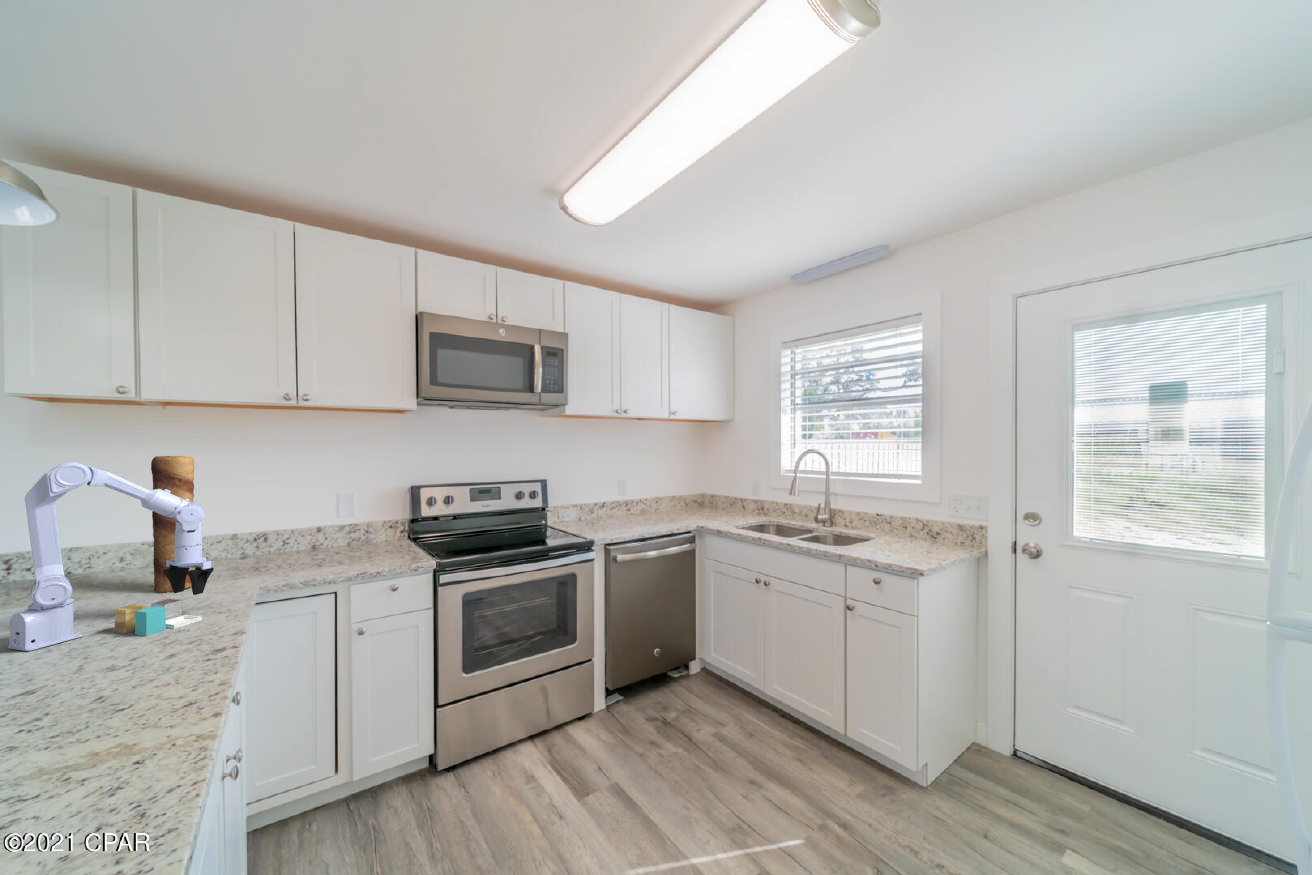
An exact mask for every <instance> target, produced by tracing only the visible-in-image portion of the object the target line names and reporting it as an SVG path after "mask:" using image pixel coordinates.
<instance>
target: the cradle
mask: <svg viewBox="0 0 1312 875" xmlns="http://www.w3.org/2000/svg"><path fill="white" fill-rule="evenodd" d="M200 621H203V616H198V615H191V614H190V615H189V614H182V616H179V617H176V618H172V619H169V620H166V629H173V630H175V629H177V628H181V627H184V626H187V625H191V624H195V623H198V622H200Z"/></svg>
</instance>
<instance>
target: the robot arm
mask: <svg viewBox="0 0 1312 875" xmlns="http://www.w3.org/2000/svg"><path fill="white" fill-rule="evenodd" d="M84 485H86V486H89V487H105V488H108V489H111V490H113V491H116V492H119V493H121V494H123V495H127V496H129V497H132V498H134V499H137V500H140V503H141V506H142V508H144V509H147V510H149V511H154V512H156V513H159V514H161V515H164V516H166V517H173V518H174V519H175V520H176V521H179V522H176V530H175V559H171V560H166V567H170V568H169V569H165V570H163V573H164V574H165V575H166V576H167V578H168V579H169V581H170V584H171V587H172V590H173V592H172V593H173V594H177V593H178V594H179V593H183V592H184V591H185V590H186V589H185V581H186V576H187V574H188V576H189V578H190V580H191V585H192V587H191V593H192V594H193V596H197V595H200V594H203V593H204V591H205V588H206V585H207V583H208V580H209V577H210V576H211V574H212V573H213V572H214V569H215V568H214V567H212V561H211V560H207V557H203V527H202V526H203V520H204V518H205V517H206V512H205V511H204V509H203V507H202V506H200V505H198V504H196V503H194V502H193V503H191V502H189V499H186V498H185V499H182V498H180V497H177V496H175V495H173V494H170V492H171V491H169V490H167V489H164V491H163V490H161V489H155V490H153V489H150V490H149V489H147V488H145V487H143V486H140V485H138V484H136V483H134V482H132V481H129V480H127V479H125V478H123V477H120V476H118V475H116V474H114V473H112V472H109V471H106V470H103V469H98V468H96V467H91V466H86V465H84V464H83V463H80V462H75V461H74V462H73V461H66V462H63V463H59V464H57V465H55V466H54V467H52V468H50V469H49V470H47V471H45V473H44V474H42V475H41V477H40V478H39V479H38V480H37V481H36V483H35V484H33V486H32V487H31V488H30V489H29V491H28V492H27V493H26V494H25V497H24V502H25V509H26V517H27V518H26V519H27V524H28V525H27V526H28V531H29V532H28V534H29V541H30V547H31V554H32V563H33V570H34V571H33V572H34V577H35V579H34V582H33V584H32V585H31V587H30V594H31V595H30V598H31V599H30V600H31V601H32V602H31V603H30V604H28V605H27V609H24V610H23V611H20V612H16V613H14V614H13V615H12V616H11V617H10V620H9V645H8V646H7V647H6V648H7V649H9V650H18V651H24V652H32V651H35V650H38V649H42V648H46V647H50V646H53V645H57V644H60V643H64V642H68V641H71V640H75V639H79V638H82V637H84V634H83V633H82V634H81V633H75V632H74V631H75V630H74V629H75V628H74V625H75V624H74V622H75V621H74V620H75V619H74V618H75V615H74V614H75V611H74V610H75V599H74V598H71V596H72V594H73V587H72V585H71V582H70V579H68V578H67V577H66V576H65V572H64V566H63V565H64V564H63V557H62V549H61V542H60V535H59V527H58V518H57V511H56V501H58V500H59V499H61V497H64V496H65V495H66V494H67V493H68V492H70V491H72V490H75V489H78V488H80V487H82V486H84ZM189 568H193V570H190V571H188V570H189Z"/></svg>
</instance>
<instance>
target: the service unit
mask: <svg viewBox="0 0 1312 875" xmlns="http://www.w3.org/2000/svg"><path fill="white" fill-rule="evenodd" d="M154 606H157V607H166V620H169V619H172V618H176V617H179V616H183V599H174V598H167V599H163V600H159V601H155V602H151V605H150V607H154Z"/></svg>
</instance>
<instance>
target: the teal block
mask: <svg viewBox="0 0 1312 875" xmlns="http://www.w3.org/2000/svg"><path fill="white" fill-rule="evenodd" d="M166 629H167V628H166V607H157V606H154V607H151V606H150V607H147V608H146V607H145V609H142V610H138V611H135V631H134V632H135V633H134V634H135V636H140V635H141V636H142V637H149V636H152V635H155V634H158V633H162V632H166ZM141 636H140V637H141Z"/></svg>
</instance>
